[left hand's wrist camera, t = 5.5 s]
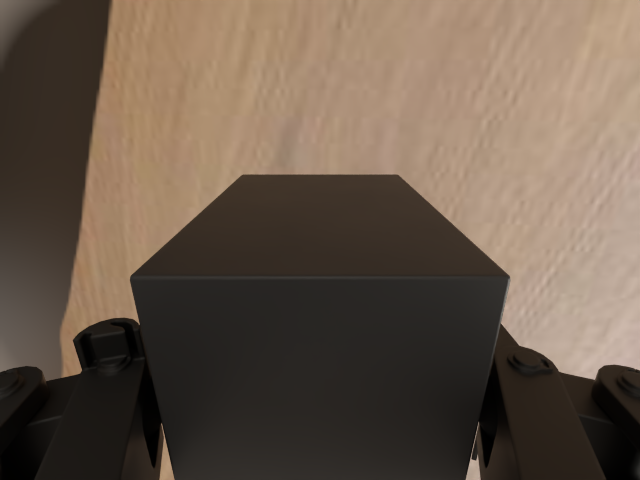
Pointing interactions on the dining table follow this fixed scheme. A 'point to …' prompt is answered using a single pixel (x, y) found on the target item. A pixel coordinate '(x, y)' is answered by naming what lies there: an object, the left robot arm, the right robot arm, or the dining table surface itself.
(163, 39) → the dining table surface
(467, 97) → the dining table surface
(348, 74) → the dining table surface
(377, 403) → the box
